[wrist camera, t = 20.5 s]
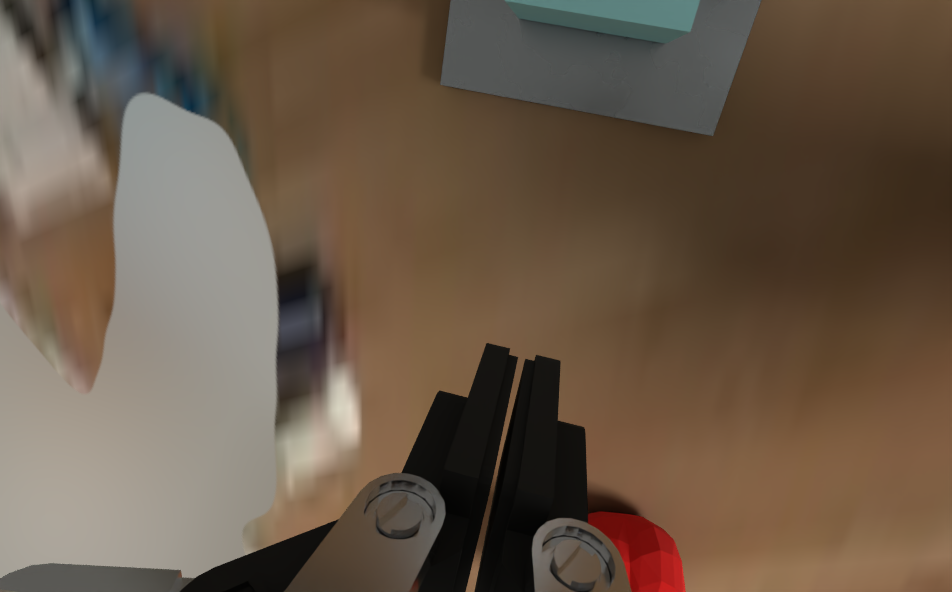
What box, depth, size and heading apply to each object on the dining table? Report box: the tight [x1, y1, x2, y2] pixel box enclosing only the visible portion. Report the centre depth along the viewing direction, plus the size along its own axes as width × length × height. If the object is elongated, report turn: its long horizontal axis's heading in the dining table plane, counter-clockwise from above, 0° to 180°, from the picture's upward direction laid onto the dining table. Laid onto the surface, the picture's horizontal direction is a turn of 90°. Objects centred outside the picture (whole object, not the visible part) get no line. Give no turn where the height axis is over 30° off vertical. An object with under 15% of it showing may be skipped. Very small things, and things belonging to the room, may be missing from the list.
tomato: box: [588, 511, 685, 592], centre depth 38 cm, size 11×13×10 cm
